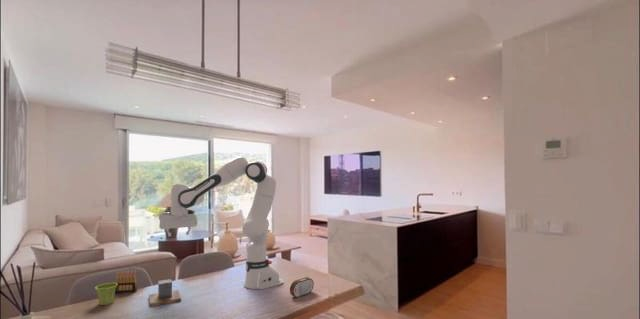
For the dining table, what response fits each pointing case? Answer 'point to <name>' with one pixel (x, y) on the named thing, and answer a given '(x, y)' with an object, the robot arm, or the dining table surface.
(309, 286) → the tin
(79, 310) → the dining table surface
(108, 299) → the plant pot
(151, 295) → the base plate
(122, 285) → the brown slatted box
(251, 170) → the robot arm
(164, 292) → the grey square block
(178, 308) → the dining table surface
